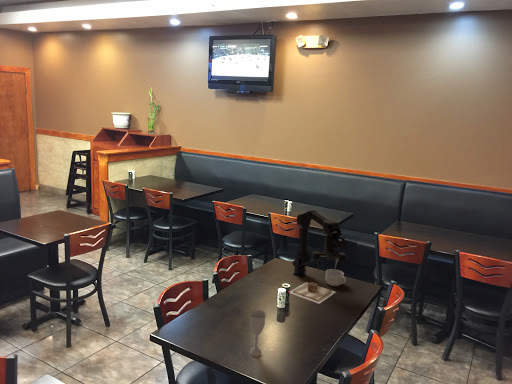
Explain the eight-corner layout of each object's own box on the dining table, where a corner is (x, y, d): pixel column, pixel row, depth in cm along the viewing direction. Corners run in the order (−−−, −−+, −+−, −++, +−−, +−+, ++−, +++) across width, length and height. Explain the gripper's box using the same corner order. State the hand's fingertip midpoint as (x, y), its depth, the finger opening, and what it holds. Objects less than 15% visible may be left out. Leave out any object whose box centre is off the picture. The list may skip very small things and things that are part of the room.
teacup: (321, 281, 252) (322, 269, 250) (335, 279, 256) (337, 267, 255) (334, 291, 239) (336, 278, 238) (349, 288, 244) (351, 276, 242)
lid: (293, 292, 234) (293, 284, 233) (307, 283, 247) (308, 276, 246) (317, 301, 225) (318, 292, 224) (331, 292, 237) (332, 283, 236)
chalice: (263, 348, 178) (266, 310, 175) (264, 357, 171) (267, 318, 168) (246, 348, 178) (248, 309, 174) (247, 357, 171) (249, 317, 168)
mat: (288, 292, 234) (288, 292, 234) (306, 282, 250) (306, 281, 249) (319, 304, 222) (319, 303, 222) (336, 292, 238) (336, 292, 238)
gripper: (315, 247, 226) (313, 274, 229) (349, 249, 226) (346, 276, 229) (312, 241, 237) (310, 266, 240) (345, 242, 237) (342, 268, 240)
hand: (327, 269), depth 237 cm, fingers open, 9 cm apart
